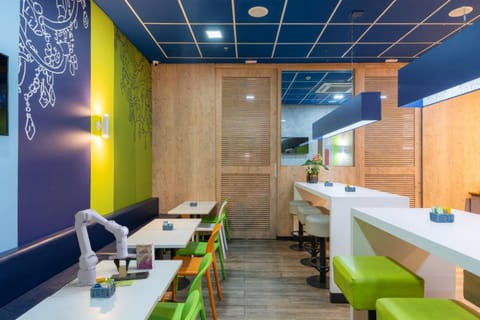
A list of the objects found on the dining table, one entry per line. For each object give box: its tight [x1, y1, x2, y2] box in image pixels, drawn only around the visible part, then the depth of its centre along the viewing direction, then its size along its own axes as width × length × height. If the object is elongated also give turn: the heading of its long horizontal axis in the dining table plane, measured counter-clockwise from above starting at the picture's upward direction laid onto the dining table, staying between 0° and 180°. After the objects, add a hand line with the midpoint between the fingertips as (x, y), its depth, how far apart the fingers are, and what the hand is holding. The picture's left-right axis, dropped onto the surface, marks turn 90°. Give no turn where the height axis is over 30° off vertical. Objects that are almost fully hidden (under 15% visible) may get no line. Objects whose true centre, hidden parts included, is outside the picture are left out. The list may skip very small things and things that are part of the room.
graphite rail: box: [109, 270, 150, 282], centre depth 186 cm, size 22×7×2 cm, turn 99°
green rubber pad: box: [115, 280, 134, 288], centre depth 177 cm, size 10×7×1 cm
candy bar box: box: [135, 242, 156, 270], centre depth 203 cm, size 11×5×16 cm, turn 84°
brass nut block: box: [118, 264, 129, 277], centre depth 177 cm, size 4×4×6 cm
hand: (123, 270), depth 177 cm, fingers closed on brass nut block, 4 cm apart
